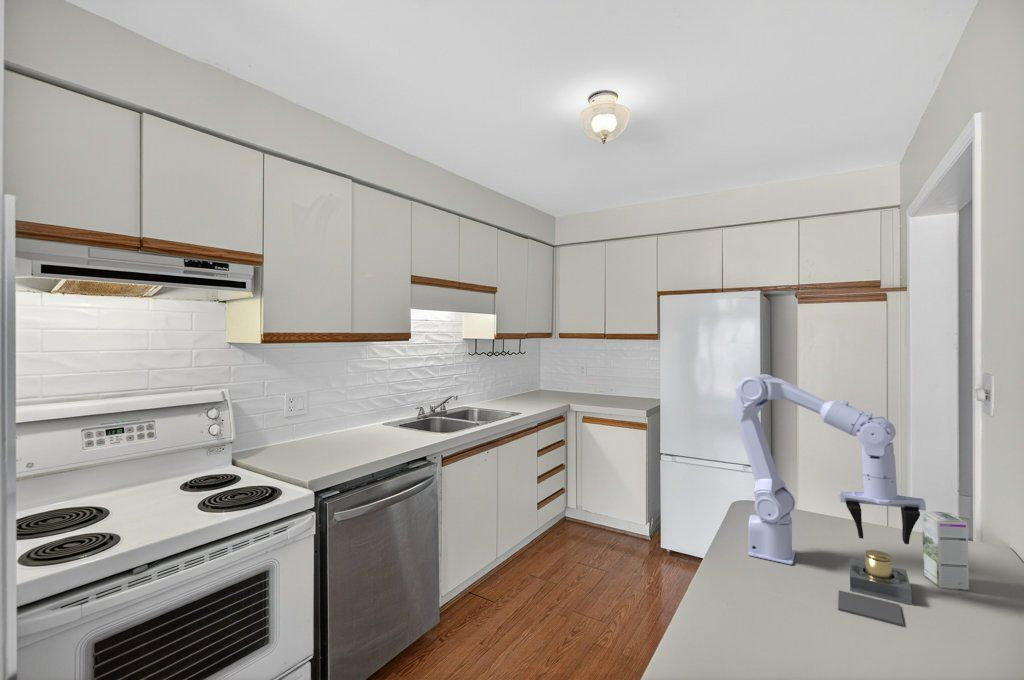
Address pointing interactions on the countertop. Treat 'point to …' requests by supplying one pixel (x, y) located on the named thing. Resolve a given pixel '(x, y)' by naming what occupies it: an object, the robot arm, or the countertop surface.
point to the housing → (880, 583)
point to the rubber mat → (870, 608)
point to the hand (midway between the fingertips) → (882, 539)
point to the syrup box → (945, 550)
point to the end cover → (878, 564)
